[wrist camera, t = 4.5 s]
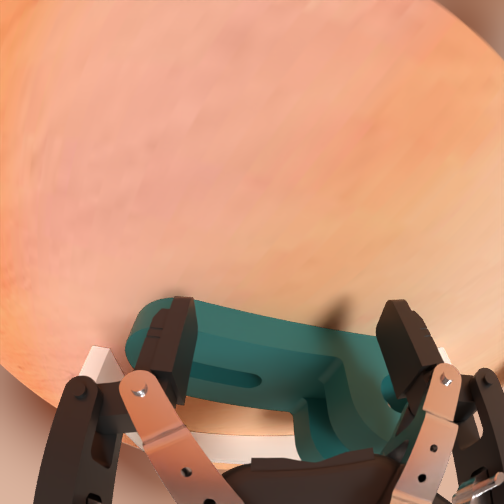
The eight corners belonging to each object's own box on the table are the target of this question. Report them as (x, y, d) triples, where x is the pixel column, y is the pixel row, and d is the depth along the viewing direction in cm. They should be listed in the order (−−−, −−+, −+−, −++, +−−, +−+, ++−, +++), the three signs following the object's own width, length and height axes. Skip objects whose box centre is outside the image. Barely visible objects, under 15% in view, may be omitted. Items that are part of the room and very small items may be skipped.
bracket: (414, 339, 16) (452, 436, 10) (364, 391, 20) (382, 475, 13) (137, 281, 14) (78, 412, 7) (137, 353, 17) (105, 454, 11)
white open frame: (443, 346, 17) (457, 376, 14) (377, 429, 25) (381, 451, 22) (92, 345, 17) (77, 377, 14) (148, 429, 25) (143, 451, 23)
